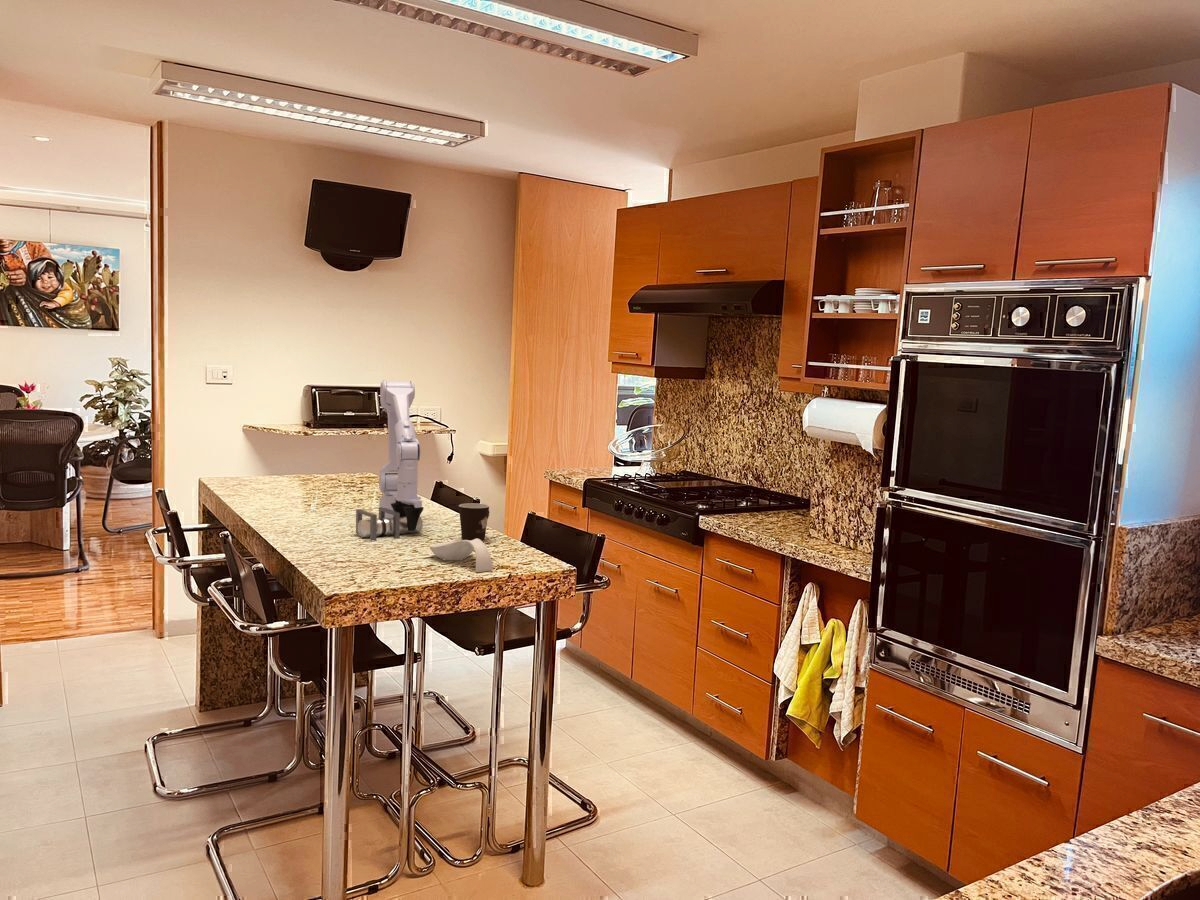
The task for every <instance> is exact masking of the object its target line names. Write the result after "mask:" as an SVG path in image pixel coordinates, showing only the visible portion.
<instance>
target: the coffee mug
mask: <svg viewBox="0 0 1200 900" xmlns="http://www.w3.org/2000/svg"><path fill="white" fill-rule="evenodd" d="M458 512H459V521H460V522H459V523H460V533H461V540H469V541H471V540H474V539H480V540H481V541H483V540H484V541H485V539H486V532H487V527H488V526H487V525H488V519H489V516H490V505H488V504H486V503H473V502H472V503H469V502H467V503H461V504H459V505H458ZM484 541H483V542H484Z"/></svg>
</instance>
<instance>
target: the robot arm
mask: <svg viewBox="0 0 1200 900" xmlns="http://www.w3.org/2000/svg"><path fill="white" fill-rule="evenodd" d="M415 388H416V387H415V383H414V382H413V380H409V381H407V380H406V381H403V380H385V379H384V380H382V381H381V382H380V388H379V391H380V393H379V394H380V395H379V396H380V397H379V400H380V401H379V402H380V407H381V408H382V409H384V410H386V415H387V437H388V438H387V442H388V443H387V445H388V446H387V450H388V451H387V452H388V462H387V463H385V464H383V465H382V467H380V469H379V476H378V487H379V489H378V490H379V492H380V493H381V494H382V495H380V497H379V499H378V500H379V501H378V502H379V503H378V504H379V505H378V508H379V507H383V508H386V509H389V510H393V511H396V512H399V513H400V517H405V516H406V518H407V528H408V531H413V530H416V527H417V523H418V519H419V517H421V514H422V512H423V511H424V508H425V507H423V500H421V498H422V497H421V496H419V495H418V475H419V474H418V473H419V472H418V470H419V468H418V467H419V461H420V459H421V445H420V442H419V439H418V438H417V436H416V429H415V425H414V423H413V422H412V421H411V420H410V408H411V405H412V404H413V402H414V399H415V396H416V395H415V394H416V389H415ZM385 518H393V515H391V514H388V513H386V512H385ZM377 519H379V517H377Z"/></svg>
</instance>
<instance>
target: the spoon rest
mask: <svg viewBox="0 0 1200 900" xmlns="http://www.w3.org/2000/svg"><path fill="white" fill-rule="evenodd" d="M429 550H430V551H431V552H432V553H433V554H434V556H436V557H438V558H439V559H440V560H442V559H445V560H444V561H446V560H460V561H462V560H461V559H464V560H465V559H466V558H468V557H469V556H470V555H471V554H472V553H473V552H474V554H475V572H476V573H485V572H491V571H493V570H494V564H493V560H492V556H491V554H490V551H489V549H488V547H487V546H486V545H485V543H484V541H483V542H482V541H481V540H480V539H474V540H471V541H469V540H462V539H461V540H458V541H446V542H437V543H433V544H430V545H429Z"/></svg>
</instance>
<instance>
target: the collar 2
mask: <svg viewBox="0 0 1200 900" xmlns="http://www.w3.org/2000/svg"><path fill="white" fill-rule="evenodd" d="M385 512H386V513H388V514H391V515H393V535H392V538H393V537H394V538H393V539H395V538H396V539H400V534H399V525H400V513H399V512H396V511H393V510H389V509H386V508H383V507H379V506H378V518H379V519H380V518H385Z"/></svg>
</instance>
